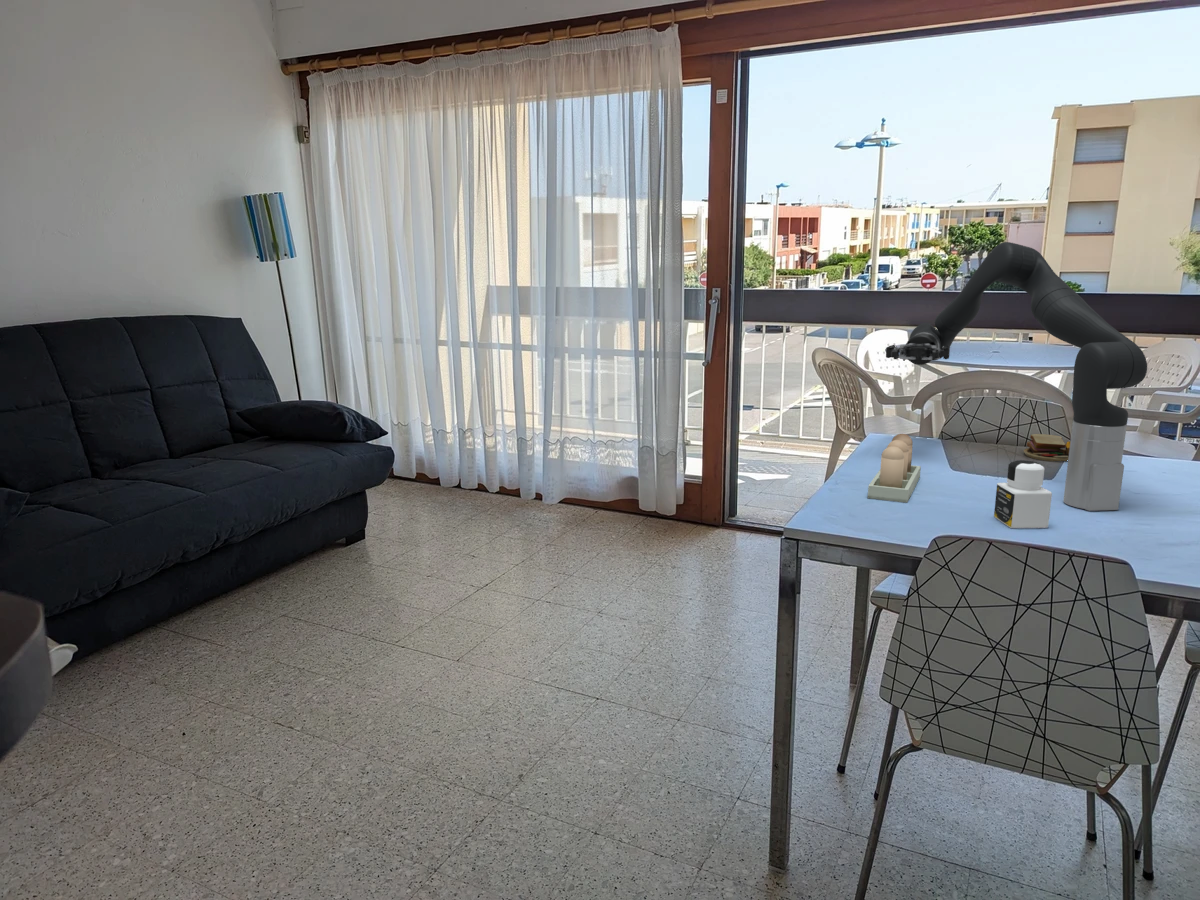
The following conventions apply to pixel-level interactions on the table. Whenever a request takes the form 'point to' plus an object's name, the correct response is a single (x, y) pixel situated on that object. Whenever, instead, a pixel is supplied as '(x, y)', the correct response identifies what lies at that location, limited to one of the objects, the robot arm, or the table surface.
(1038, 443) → the toy sandwich meal
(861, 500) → the table surface
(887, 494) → the compartment tray
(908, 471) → the round-topped wooden peg
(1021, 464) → the medicine bottle
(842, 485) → the table surface
